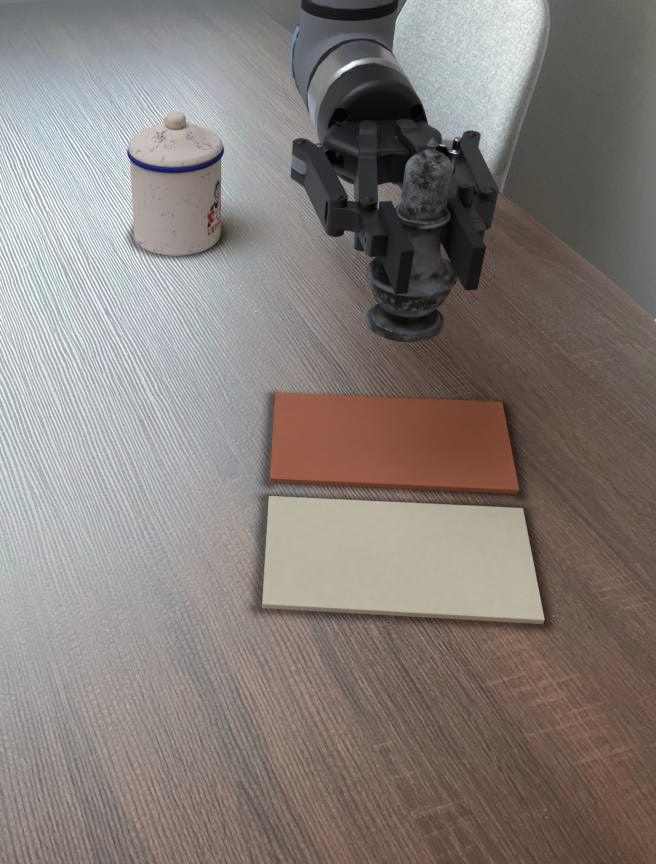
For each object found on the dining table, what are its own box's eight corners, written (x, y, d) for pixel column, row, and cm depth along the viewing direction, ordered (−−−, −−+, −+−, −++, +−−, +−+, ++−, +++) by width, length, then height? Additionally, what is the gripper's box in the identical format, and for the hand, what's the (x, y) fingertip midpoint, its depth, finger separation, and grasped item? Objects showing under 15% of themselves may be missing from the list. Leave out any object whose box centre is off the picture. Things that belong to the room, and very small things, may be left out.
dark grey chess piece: (461, 312, 70) (498, 129, 61) (429, 353, 67) (463, 166, 58) (381, 291, 72) (406, 111, 63) (346, 330, 69) (367, 146, 60)
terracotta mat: (500, 407, 82) (502, 401, 81) (517, 496, 74) (519, 489, 74) (274, 398, 83) (275, 392, 83) (269, 484, 76) (270, 478, 75)
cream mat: (521, 514, 73) (523, 507, 73) (542, 626, 66) (545, 619, 65) (268, 501, 74) (268, 495, 74) (261, 610, 67) (262, 603, 67)
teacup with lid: (229, 255, 99) (231, 130, 91) (136, 262, 99) (129, 137, 90) (211, 200, 108) (211, 81, 99) (125, 207, 107) (118, 87, 98)
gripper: (466, 162, 80) (562, 320, 64) (253, 172, 79) (296, 335, 63) (485, 56, 74) (595, 201, 58) (257, 67, 74) (305, 216, 58)
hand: (439, 270), depth 61 cm, fingers closed on dark grey chess piece, 3 cm apart
